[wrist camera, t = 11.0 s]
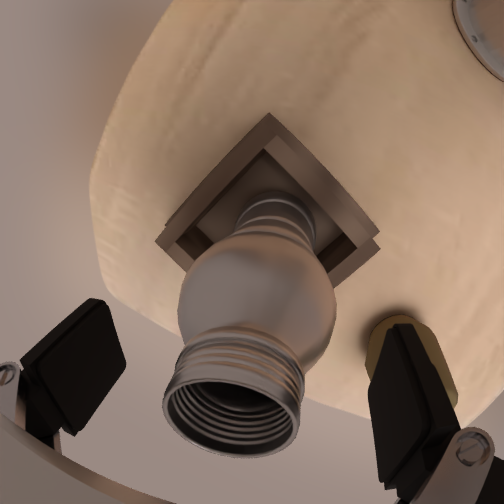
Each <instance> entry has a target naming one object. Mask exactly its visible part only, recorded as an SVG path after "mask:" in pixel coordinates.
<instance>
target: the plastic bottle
mask: <svg viewBox="0 0 504 504" xmlns="http://www.w3.org/2000/svg"><path fill="white" fill-rule="evenodd" d="M316 236H317V231H316V223H315V219H314V217H313V215H312V213H311V211H310V209H309V208H308V207H307V205H306V204H305V203H304V202H302V201H301V200H300V199H299V198H297V197H295V196H294V195H292V194H289V193H285V192H279V191H272V192H266V193H262V194H259V195H257V196H256V197H254V198H252V199H251V200H250V201H249V202H247V203H246V204H245V206H244V207H243V208H242V209H241V211H240V213H239V215H238V217H237V220H236V224H235V227H234V233H233V234H231V235H230V236H228V237H226V238H224V239H222V240H220V241H219V242H217V243H215V244H213V245H212V246H211V247H210V248H209V249H208V250H206V251H205V252H204V253H203V254H202V255H201V256H200V257H198V258H197V259H196V260H195V262H194V263H193V264H192V266H191V267H190V269H189V270H188V272H187V274H186V276H185V278H184V281H183V283H182V287H181V292H180V298H179V304H178V310H177V312H178V324H179V328H180V331H181V335H182V338H183V341H184V344H185V346H184V348H183V350H182V352H181V354H180V356H179V358H178V360H177V362H176V366H175V372H174V375H173V377H172V379H171V381H170V383H169V384H168V387H167V388H166V391H165V393H164V398H163V403H162V404H163V405H162V408H163V412H164V416H165V418H166V419H167V422H168V423H169V424H170V426H171V427H172V428H173V429H174V431H176V432H177V433H178V434H179V435H180V436H181V437H182V438H184V439H185V440H187V441H188V442H190V443H191V444H193V445H195V446H197V447H199V448H201V449H203V450H206V451H208V452H211V453H214V454H218V455H222V456H227V457H233V458H258V457H264V456H269V455H272V454H275V453H277V452H279V451H281V450H283V449H285V448H286V447H288V446H289V445H290V444H291V443H292V442H293V440H294V439H295V438H296V435H297V432H298V429H299V426H300V406H301V402H302V399H303V396H304V390H305V374H306V373H307V372H308V371H309V370H310V369H311V368H312V367H313V366H314V365H315V364H316V363H317V361H318V360H319V359H320V358H321V357H322V355H323V354H324V352H325V350H326V348H327V346H328V344H329V342H330V339H331V336H332V332H333V329H334V325H335V321H336V310H337V303H336V298H335V293H334V289H333V287H332V285H331V282H330V280H329V277H328V275H327V273H326V271H325V269H324V267H323V265H322V264H321V263H320V261H319V260H318V258H317V257H316V255H315V254H314V252H313V250H314V248H315V242H316Z"/></svg>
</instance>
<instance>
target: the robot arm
mask: <svg viewBox="0 0 504 504" xmlns="http://www.w3.org/2000/svg"><path fill="white" fill-rule="evenodd" d="M453 11H454V16H455V19H456V22H457V25H458V27H459V30H460V32H461V33H462V35H463V37H464V39H465V41H466V42H467V44H468V45H469V47H470V49H471V50H472V51H473V53H474V54H475V55H476V57H477V58H478V59H479V60H480V61H481V63H482V64H483V65H484V66H485V67H486V68H487V69H488V70H489V71H490V72H491V73H492V74H493V75H495V76H496V77H498V78H499V79H500V80H502V81H504V0H454V2H453ZM20 362H21V364H22V366H23V368H24V369H23V370H22V371H21V369H20V367H19V366H18V364H16V363H15V362H5V363H2V364H0V504H176V503H172V502H169V501H166V500H163V499H160V498H156V497H153V496H150V495H148V494H145V493H142V492H139V491H136V490H134V489H132V488H129V487H126V486H124V485H122V484H119V483H117V482H115V481H112V480H110V479H108V478H106V477H104V476H101V475H99V474H97V473H95V472H93V471H91V470H89V469H87V468H85V467H83V466H81V465H80V464H78V463H76V462H74V461H72V460H70V459H69V458H67V457H65V456H63V455H62V451H61V443H60V434H59V429H60V428H61V427H62V429H63V430H64V431H65V432H67V433H69V434H71V435H72V436H74V437H75V436H76V434H77V432H78V431H81V430H82V429H83V428H84V427H85V425H86V424H87V422H88V421H89V420H90V418H91V417H92V415H93V414H94V412H95V411H96V409H97V408H98V407H99V405H100V404H101V402H102V401H103V400H104V398H105V397H106V395H107V394H108V392H109V391H110V390H111V388H112V387H113V385H114V384H115V383H116V381H117V380H118V379H119V377H120V376H121V374H122V373H123V372H124V370H125V368H126V360H125V357H124V354H123V351H122V348H121V345H120V342H119V339H118V336H117V332H116V329H115V326H114V323H113V319H112V316H111V312H110V309H109V306H108V305H107V304H106V302H105V301H103V300H99V299H94V298H89V299H88V300H86V301H85V302H84V303H83V304H82V305H80V306H79V307H78V308H77V309H76V310H74V312H72V313H71V314H70V315H69V316H67V317H66V318H65V319H64V320H63V321H62V322H61V323H59V324H58V325H57V326H56V327H55V328H54V329H53V330H52V331H50V332H49V333H48V334H47V335H46V336H45V337H44V338H43V339H42V340H41V341H39V343H37V344H36V345H35V346H34V347H33V348H32V349H31V350H30V351H29V352H27V353H26V354H25V355H24V356H23V357H22V358H21V359H20ZM368 402H369V408H370V414H371V421H372V428H373V434H374V442H375V450H376V458H377V468H378V477H379V481H380V482H381V483H383V482H384V487H385V490H389V489H395V488H396V489H397V496H398V497H399V498H398V499H397V500H396V502H395V503H394V504H504V460H501V459H500V458H498V457H496V456H494V452H495V447H494V443H493V440H492V438H491V437H490V436H489V434H488V433H487V432H485V431H484V430H482V429H480V428H476V427H467V428H464V429H461V428H460V425H459V422H458V420H457V417H456V414H455V412H454V409H453V407H452V404H451V402H450V399H449V397H448V394H447V392H446V390H445V387H444V385H443V383H442V380H441V378H440V376H439V373H438V371H437V369H436V367H435V366H434V364H432V363H431V361H430V358H429V356H428V354H427V352H426V350H425V348H424V346H423V344H422V342H421V340H420V338H419V336H418V334H417V332H416V330H415V328H414V326H413V324H411V323H395V324H394V325H393V327H392V328H389V329H388V330H387V332H386V335H385V339H384V342H383V346H382V349H381V352H380V355H379V359H378V362H377V365H376V368H375V371H374V374H373V377H372V380H371V383H370V385H369V388H368Z"/></svg>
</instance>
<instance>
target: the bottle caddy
mask: <svg viewBox="0 0 504 504" xmlns="http://www.w3.org/2000/svg"><path fill="white" fill-rule="evenodd" d="M272 191H279V192H285V193H289V194H292V195H294V196H295V197H297V198H299V199H300V200H301V201H302V202H304V203H305V204H306V205H307V207H308V208H309V209H310V211H311V213H312V215H313V217H314V219H315V223H316V231H317V236H316V242H315V248H314V250H313V252H314V254H315V255H316V257H317V258H318V260H319V261H320V263H321V264H322V265H323V267H324V269H325V271H326V273H327V275H328V277H329V280H330V282H331V285H332V287H333V289H334V288H335V287H336V286H338V285H339V284H340V283H341V282H342V281H344V280H345V279H346V278H347V277H349V276H350V275H351V274H352V273H353V272H355V271H356V270H357V269H358V268H359V267H361V266H362V265H363V264H364V263H365V262H366V261H368V260H369V259H370V258H371V257H372V256H373V255H374V254H376V253H377V252H378V251H379V250H380V248H379V246H378V245H377V244H376V243H375V241H374V240H373V239H372V238H373V237H374V236H375V235H377V234H378V233H379V232H380V231H379V230H378V228H377V227H376V226H375V225H374V223H373V222H372V221H371V220H370V218H369V217H368V216H367V215H366V214H365V212H364V211H363V210H362V209H361V208H360V206H359V205H358V204H357V203H356V202H355V201H354V199H353V198H352V197H351V196H350V195H349V194H348V192H347V191H346V190H345V189H344V188H343V187H342V186H341V185H340V183H339V182H338V181H337V180H336V179H335V178H334V177H333V176H332V175H331V174H330V172H329V171H328V170H327V169H326V168H325V167H324V166H323V165H322V164H321V163H320V162H319V161H318V160H317V159H316V158H315V157H314V156H313V154H312V153H311V152H310V151H309V150H308V149H307V148H306V147H305V146H304V145H303V144H302V143H301V142H300V141H299V140H298V139H297V138H296V137H295V136H294V135H293V134H292V133H291V132H290V131H289V130H287V129H286V128H285V127H284V126H283V125H282V124H281V123H280V122H279V121H278V120H277V119H276V118H275V117H274V116H273V115H272V114H270V113H268V114H267V115H266V116H265V117H264V118H263V119H262V120H261V121H260V122H259V123H258V124H257V125H256V126H255V127H254V128H253V129H252V130H251V131H250V132H249V133H248V134H247V135H246V136H245V137H244V138H243V139H242V140H241V141H240V142H239V143H238V144H237V145H236V146H235V147H234V148H233V149H232V150H231V151H230V152H229V153H228V154H227V155H226V156H225V157H224V158H223V160H222V161H221V162H220V163H219V164H218V165H217V166H216V167H215V168H214V169H213V170H212V171H211V172H210V174H209V175H208V176H207V177H206V178H205V179H204V180H203V181H202V182H201V183H200V185H199V186H198V187H197V188H196V189H195V190H194V191H193V192H192V194H191V195H190V196H189V197H188V198H187V199H186V200H185V202H184V203H183V204H182V205H181V206H180V207H179V209H178V210H177V211H176V212H175V213H174V214H173V216H172V217H171V218H170V219H169V220H168V222H167V223H166V224H165V226H166V228H165V229H164V230H163V232H162V233H161V234H160V235H159V236H158V238H157V239H156V240H155V242H156V243H157V244H158V245H159V246H160V247H161V248H162V249H163V250H164V251H165V252H166V253H167V254H168V255H169V256H170V257H171V258H172V259H173V260H174V261H175V262H176V263H177V264H178V265H179V266H180V267H181V268H182V269H183V270H184V271H185V272H186V273H187V272H188V270H189V269H190V267H191V266H192V264H193V263H194V262H195V260H196V259H197V258H198V257H200V256H201V255H202V254H203V253H204V252H205V251H206V250H208V249H209V248H210V247H211V246H212V245H213V244H215V243H217V242H219V241H220V240H222V239H224V238H226V237H228V236H230V235H231V234H233V233H234V227H235V224H236V220H237V217H238V215H239V213H240V211H241V209H242V208H243V207H244V206H245V204H246V203H247V202H249V201H250V200H251V199H252V198H254V197H256V196H257V195H259V194H262V193H266V192H272Z"/></svg>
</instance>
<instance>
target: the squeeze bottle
mask: <svg viewBox="0 0 504 504" xmlns="http://www.w3.org/2000/svg"><path fill="white" fill-rule="evenodd" d="M395 323H411V324H413V326H414V328H415V330H416V332H417V334H418V336H419V338H420V340H421V342H422V344H423V346H424V348H425V350H426V352H427V354H428V356H429V358H430V361H431V363H432V364H434V366H435V367H436V369H437V371H438V373H439V376H440V378H441V380H442V383H443V385H444V387H445V390H446V392H447V394H448V397H449V399H450V402H451V404H452V407H453V409H454V408H455V406H456V404H457V401H458V393H457V390H456V387H455V384H454V381H453V379H452V376H451V373H450V371H449V368H448V365H447V363H446V360H445V358H444V355H443V353H442V350H441V348H440V346H439V343H438V341H437V338H436V336H435V335H434V333H433V332H432V331H431V329H430V328H429V327H427V326H425V325H424V324H422V323H420V322H418V321H416V320H415V319H413V318H411V317H408V316H406V315H394V316H391V317H389V318H386V319H384V320H383V321H382V322H380V323H379V324H378V325H377V326H376V327H375V328H374V330H373V332H372V333H371V335H370V340H369V346H368V351H367V356H366V361H365V367H366V370H367V373H368V376H369V378H370V381H371V380H372V377H373V374H374V371H375V368H376V365H377V362H378V359H379V355H380V352H381V349H382V346H383V342H384V339H385V335H386V332H387V330H388V329H389V328H392V327H393V325H394V324H395Z"/></svg>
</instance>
